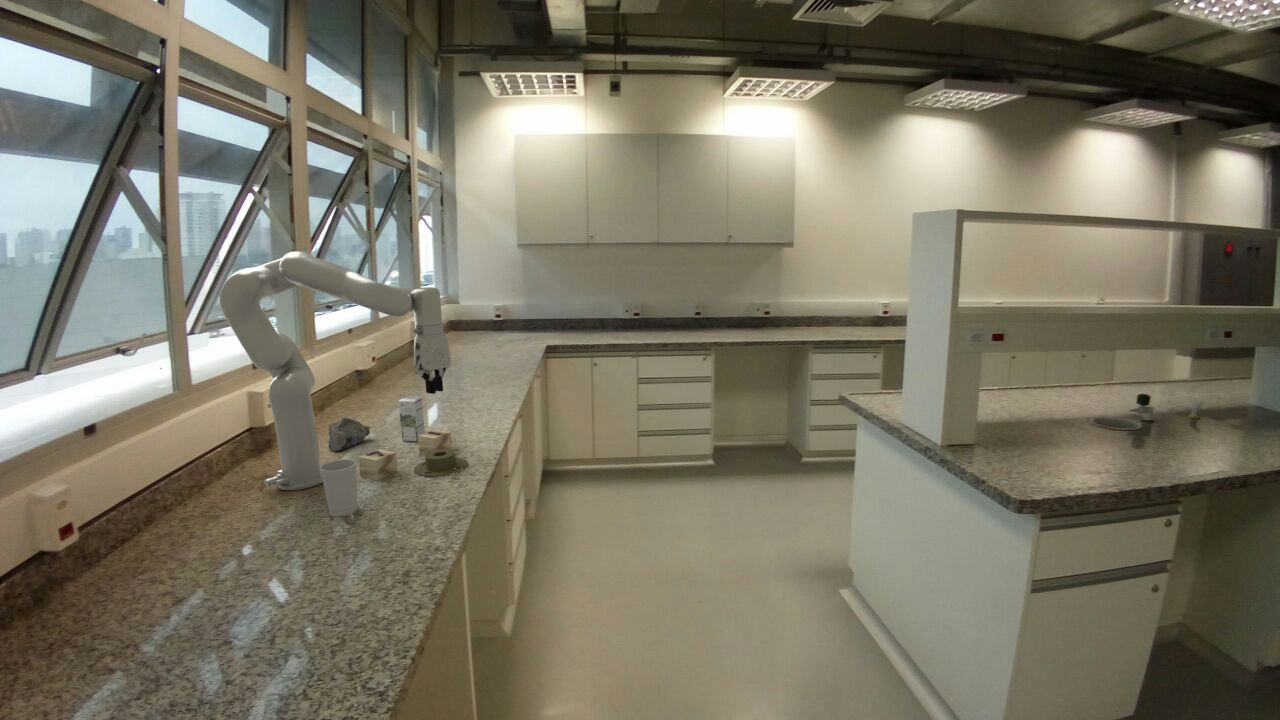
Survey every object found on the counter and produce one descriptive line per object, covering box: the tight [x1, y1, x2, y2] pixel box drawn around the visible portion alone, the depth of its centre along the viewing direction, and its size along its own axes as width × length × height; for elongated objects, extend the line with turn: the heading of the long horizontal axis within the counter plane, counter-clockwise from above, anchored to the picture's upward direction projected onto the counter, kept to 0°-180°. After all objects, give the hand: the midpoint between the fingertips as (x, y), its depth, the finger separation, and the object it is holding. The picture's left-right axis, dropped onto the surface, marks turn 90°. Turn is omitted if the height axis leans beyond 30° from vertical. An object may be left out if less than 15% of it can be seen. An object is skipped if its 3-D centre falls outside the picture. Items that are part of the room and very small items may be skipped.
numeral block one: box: [417, 429, 453, 455], centre depth 187 cm, size 7×7×6 cm
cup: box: [320, 458, 358, 517], centre depth 145 cm, size 8×8×12 cm
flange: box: [413, 449, 469, 478], centre depth 174 cm, size 5×15×15 cm
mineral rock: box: [327, 416, 371, 452], centre depth 194 cm, size 13×11×10 cm
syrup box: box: [398, 396, 426, 443], centre depth 199 cm, size 6×6×14 cm
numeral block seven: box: [358, 448, 399, 481], centre depth 169 cm, size 7×7×6 cm
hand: (434, 391), depth 174 cm, fingers closed
